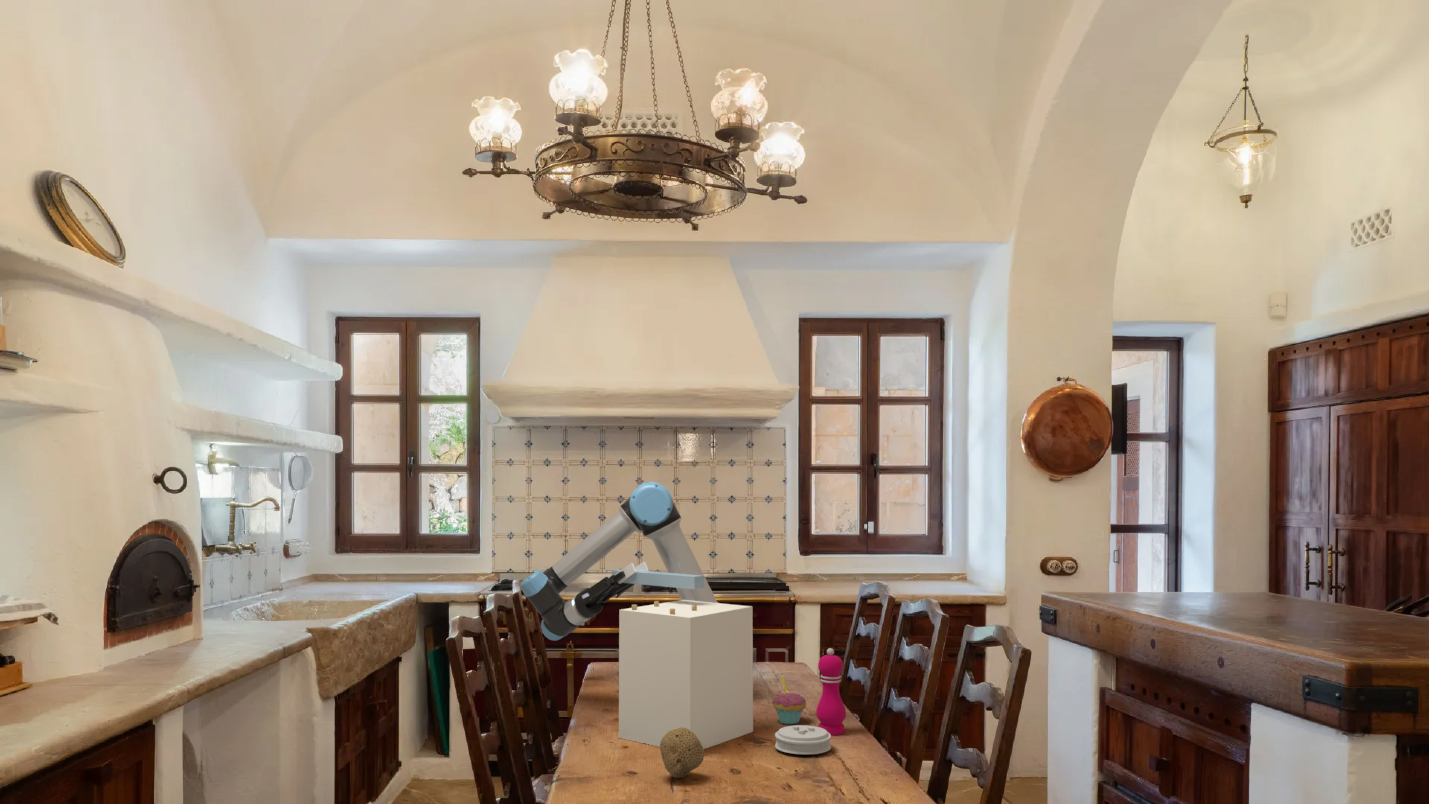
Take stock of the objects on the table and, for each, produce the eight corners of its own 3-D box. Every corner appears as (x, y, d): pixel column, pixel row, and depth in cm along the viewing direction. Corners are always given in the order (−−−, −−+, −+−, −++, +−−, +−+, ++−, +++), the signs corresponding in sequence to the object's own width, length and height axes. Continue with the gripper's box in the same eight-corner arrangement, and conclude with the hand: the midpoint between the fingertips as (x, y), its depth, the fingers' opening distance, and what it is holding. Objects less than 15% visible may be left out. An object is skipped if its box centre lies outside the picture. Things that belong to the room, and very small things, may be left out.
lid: (786, 760, 211) (785, 737, 211) (767, 745, 223) (767, 723, 224) (839, 756, 214) (839, 733, 215) (818, 741, 227) (818, 719, 227)
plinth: (618, 737, 229) (619, 604, 231) (683, 718, 248) (683, 595, 250) (690, 754, 215) (690, 612, 218) (753, 731, 234) (752, 601, 237)
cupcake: (767, 723, 242) (766, 675, 243) (781, 716, 250) (780, 669, 250) (799, 727, 238) (798, 678, 239) (812, 720, 246) (811, 672, 246)
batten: (611, 581, 255) (611, 570, 255) (622, 580, 258) (622, 569, 259) (694, 589, 238) (694, 576, 238) (704, 587, 241) (704, 575, 242)
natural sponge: (703, 771, 203) (703, 722, 204) (704, 784, 194) (704, 733, 195) (660, 771, 203) (660, 722, 204) (659, 784, 194) (659, 734, 195)
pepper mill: (845, 736, 230) (844, 651, 231) (814, 735, 231) (814, 650, 233) (847, 729, 237) (846, 646, 238) (817, 727, 238) (817, 645, 240)
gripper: (611, 615, 269) (666, 577, 257) (566, 622, 255) (622, 582, 244) (601, 590, 272) (656, 552, 260) (556, 596, 258) (612, 556, 247)
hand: (639, 567), depth 252 cm, fingers closed on batten, 4 cm apart
